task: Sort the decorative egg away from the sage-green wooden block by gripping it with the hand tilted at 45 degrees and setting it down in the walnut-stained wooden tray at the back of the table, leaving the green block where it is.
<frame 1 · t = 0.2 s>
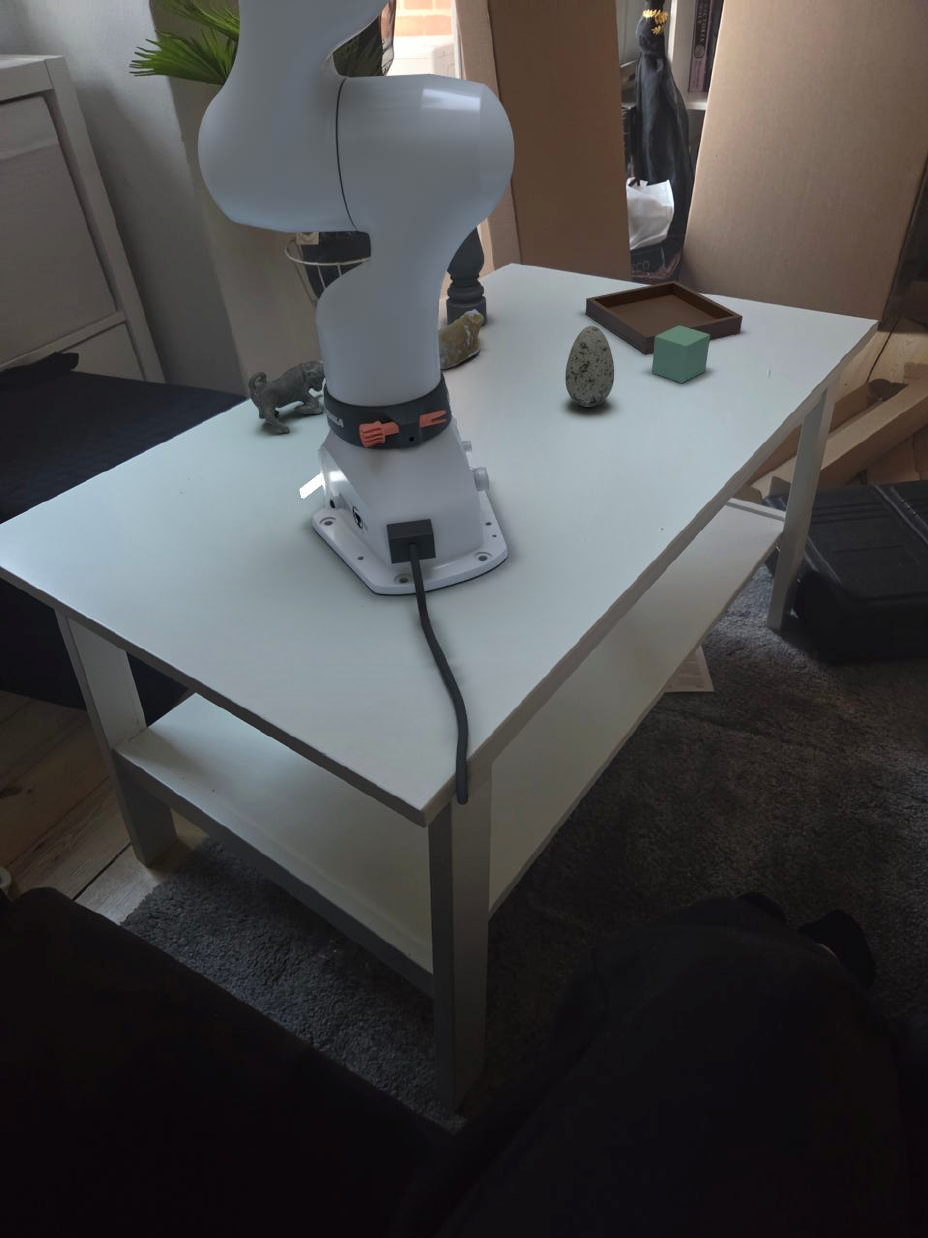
tray: (660, 322, 125), on the table
green block: (678, 372, 112), on the table
dog figurine: (298, 416, 109), on the table
stone: (450, 357, 120), on the table
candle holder: (467, 323, 130), on the table
decorative egg: (588, 406, 106), on the table
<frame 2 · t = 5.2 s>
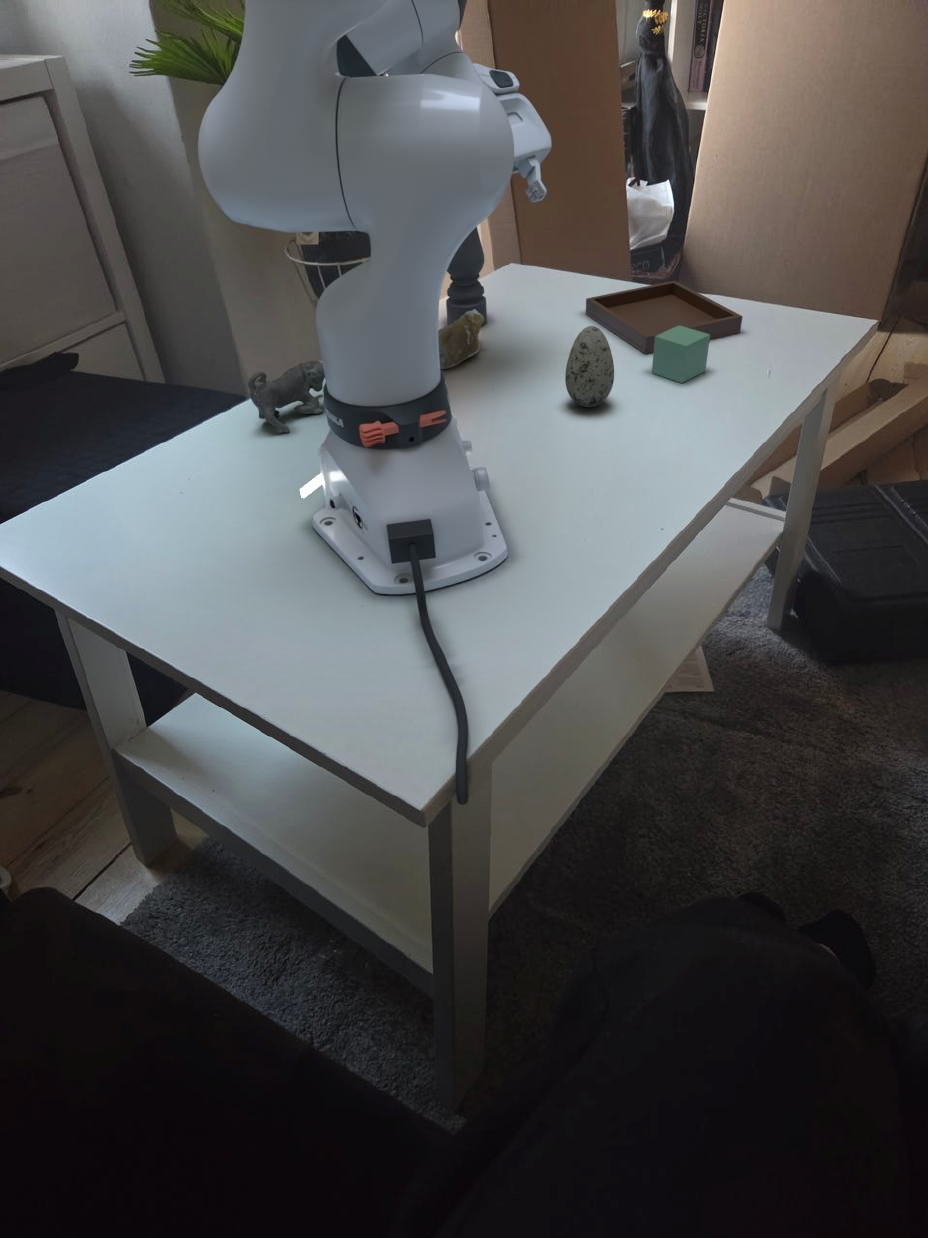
hand: (513, 207, 99), 21 cm above the table, tool tilted 45°, fingers open, 8 cm apart
nothing on the table moved.
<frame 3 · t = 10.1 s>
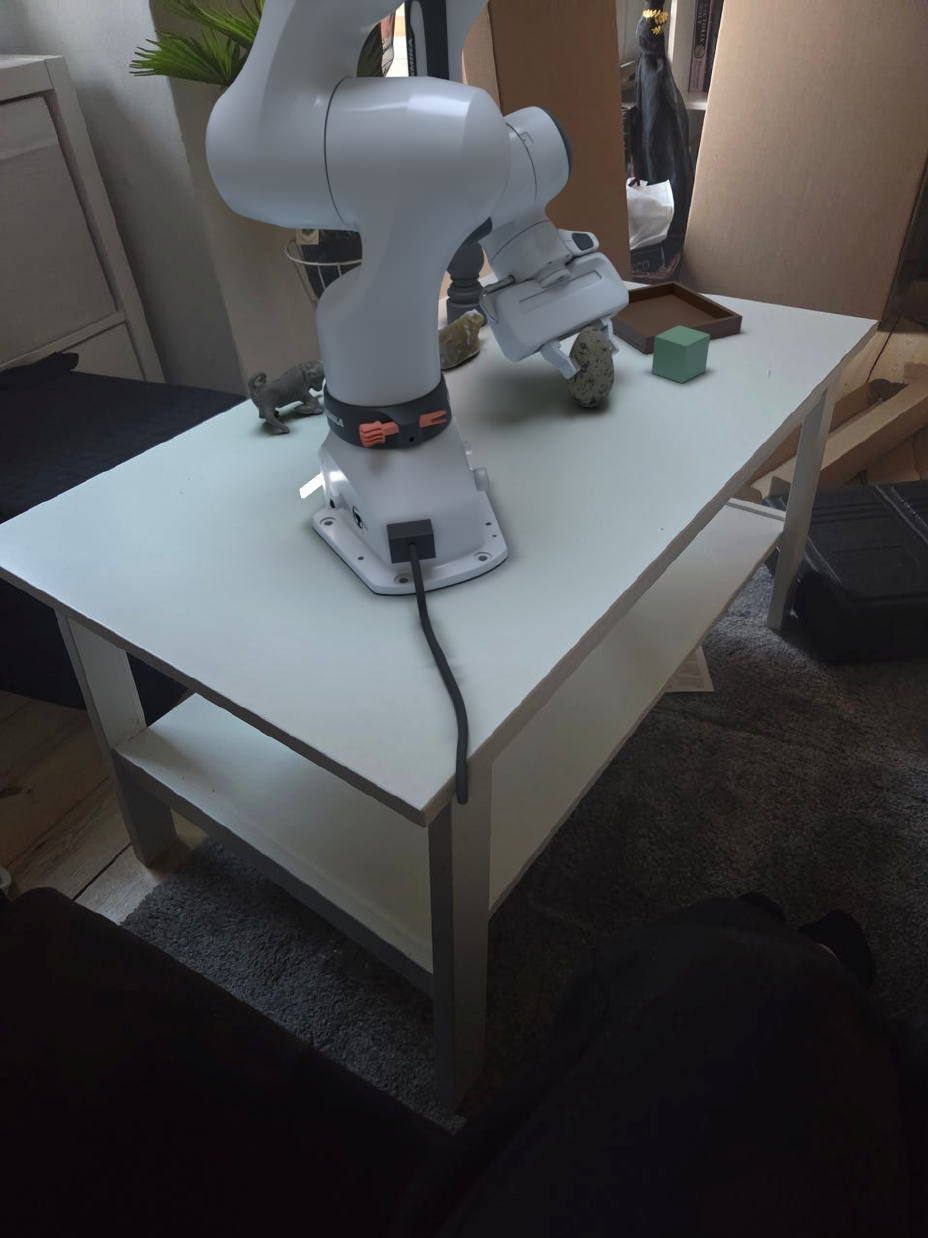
hand: (594, 365, 102), 5 cm above the table, tool tilted 45°, fingers closed on decorative egg, 6 cm apart
decorative egg: (588, 406, 106), on the table, touching gripper
everything else where it was.
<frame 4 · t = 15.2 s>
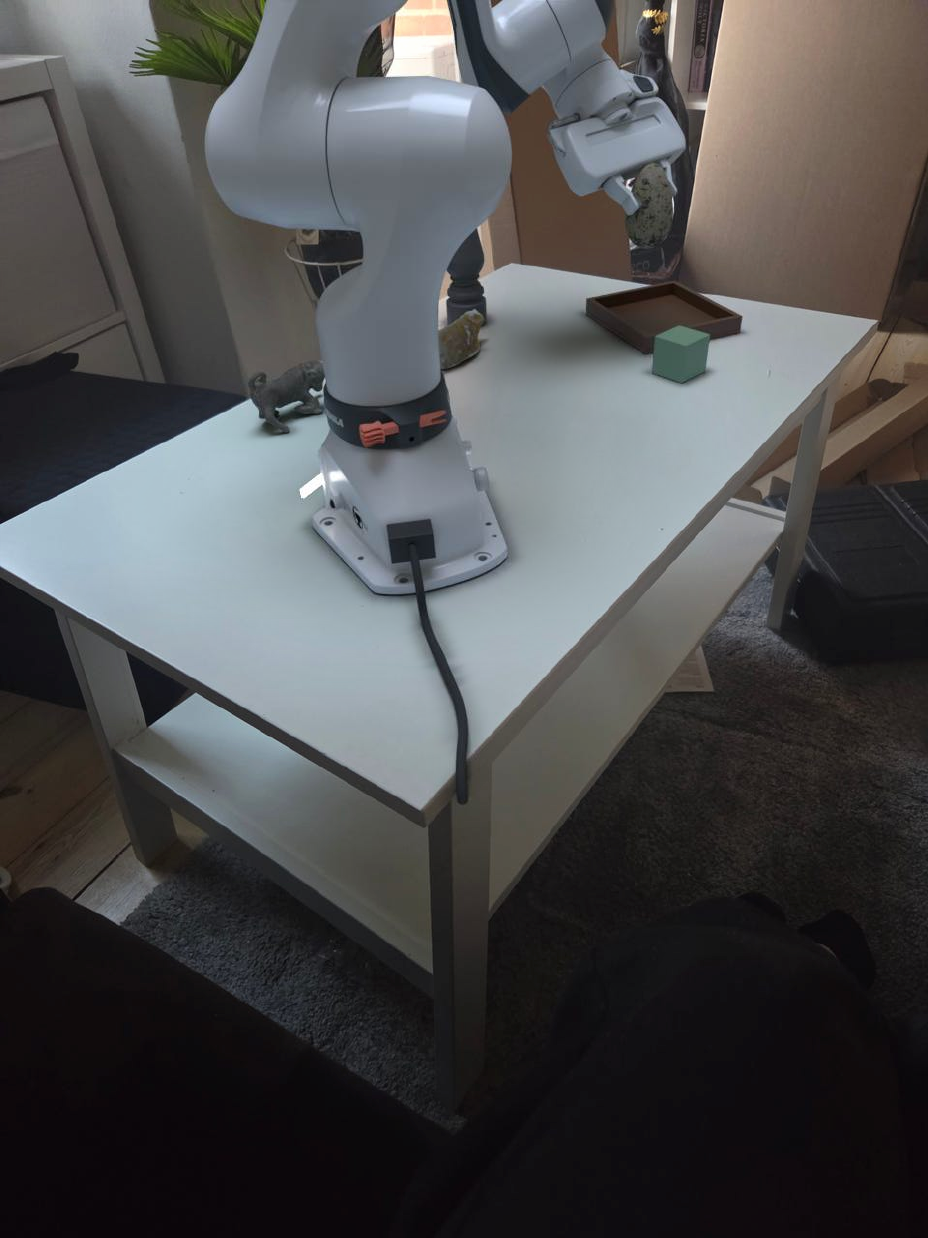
hand: (654, 204, 107), 19 cm above the table, tool tilted 45°, fingers closed on decorative egg, 6 cm apart
decorative egg: (646, 249, 110), point 13 cm above the table, touching gripper
everything else where it was.
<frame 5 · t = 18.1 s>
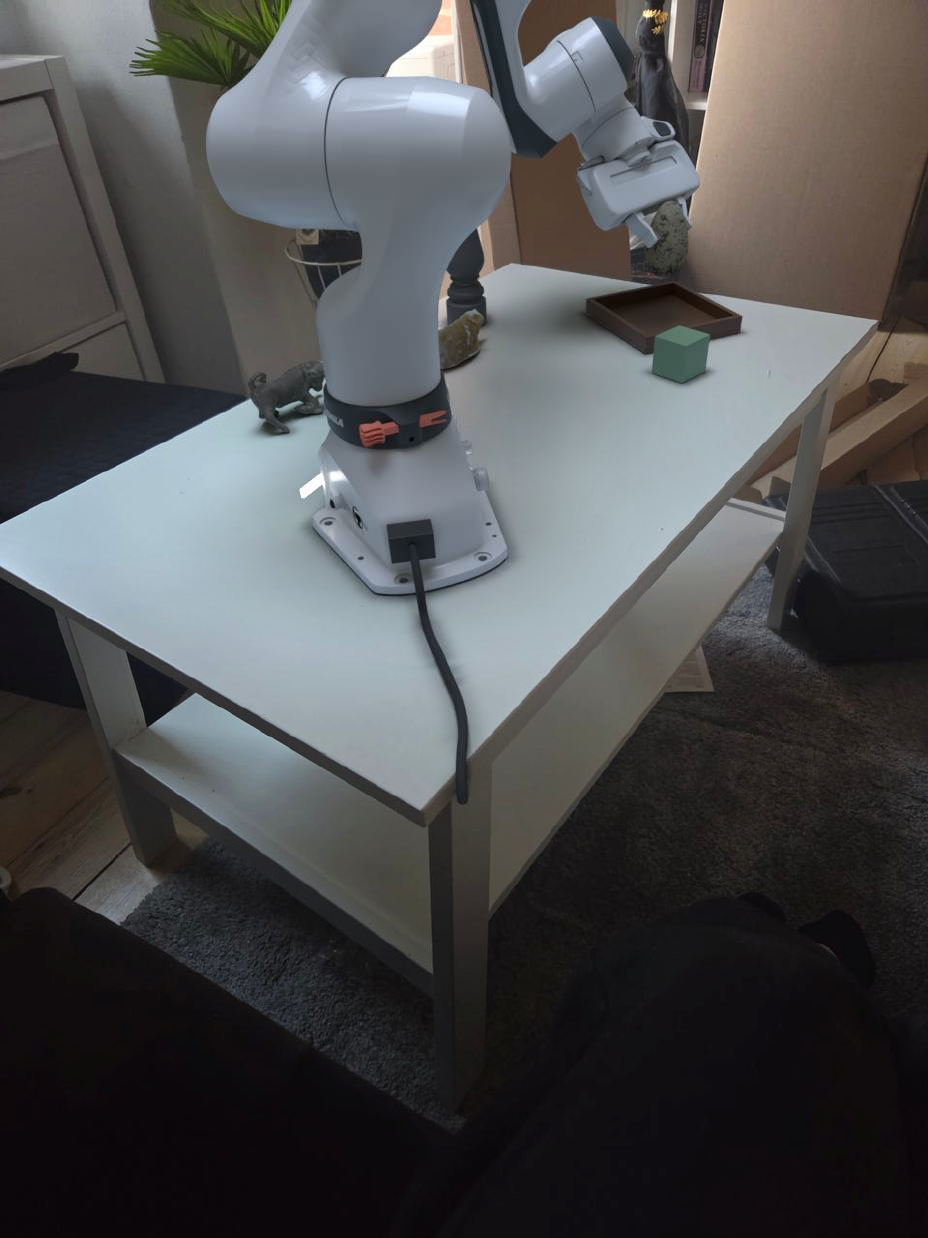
hand: (671, 237, 117), 12 cm above the table, tool tilted 45°, fingers closed on decorative egg, 6 cm apart
decorative egg: (663, 277, 121), point 7 cm above the table, touching gripper
everything else where it was.
when the fingers open (6 cm above the table, at t = 20.3 s): decorative egg stays where it is, resting on tray.
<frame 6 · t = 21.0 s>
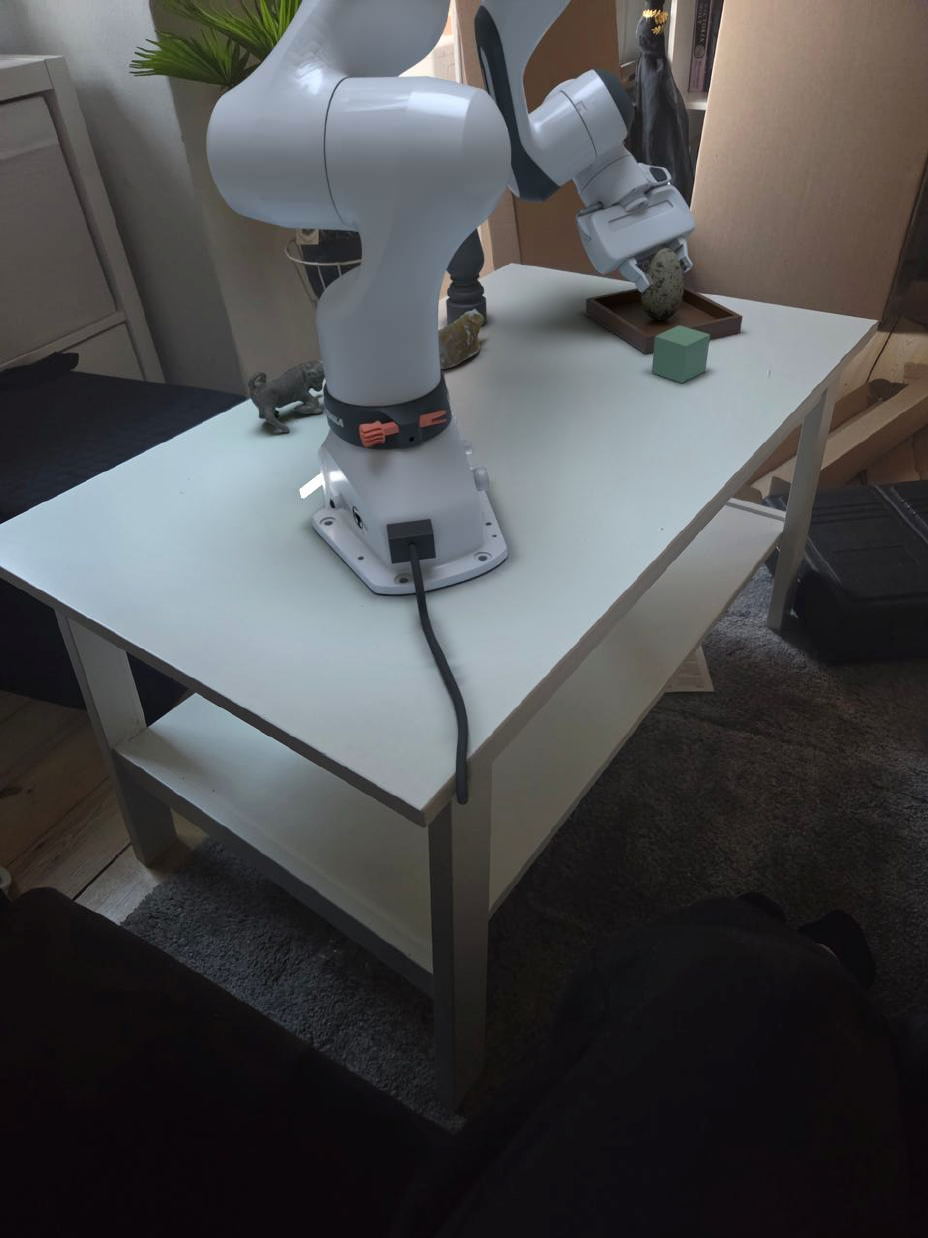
hand: (667, 279, 121), 6 cm above the table, tool tilted 45°, fingers open, 8 cm apart
decorative egg: (659, 320, 125), resting on tray
everything else where it was.
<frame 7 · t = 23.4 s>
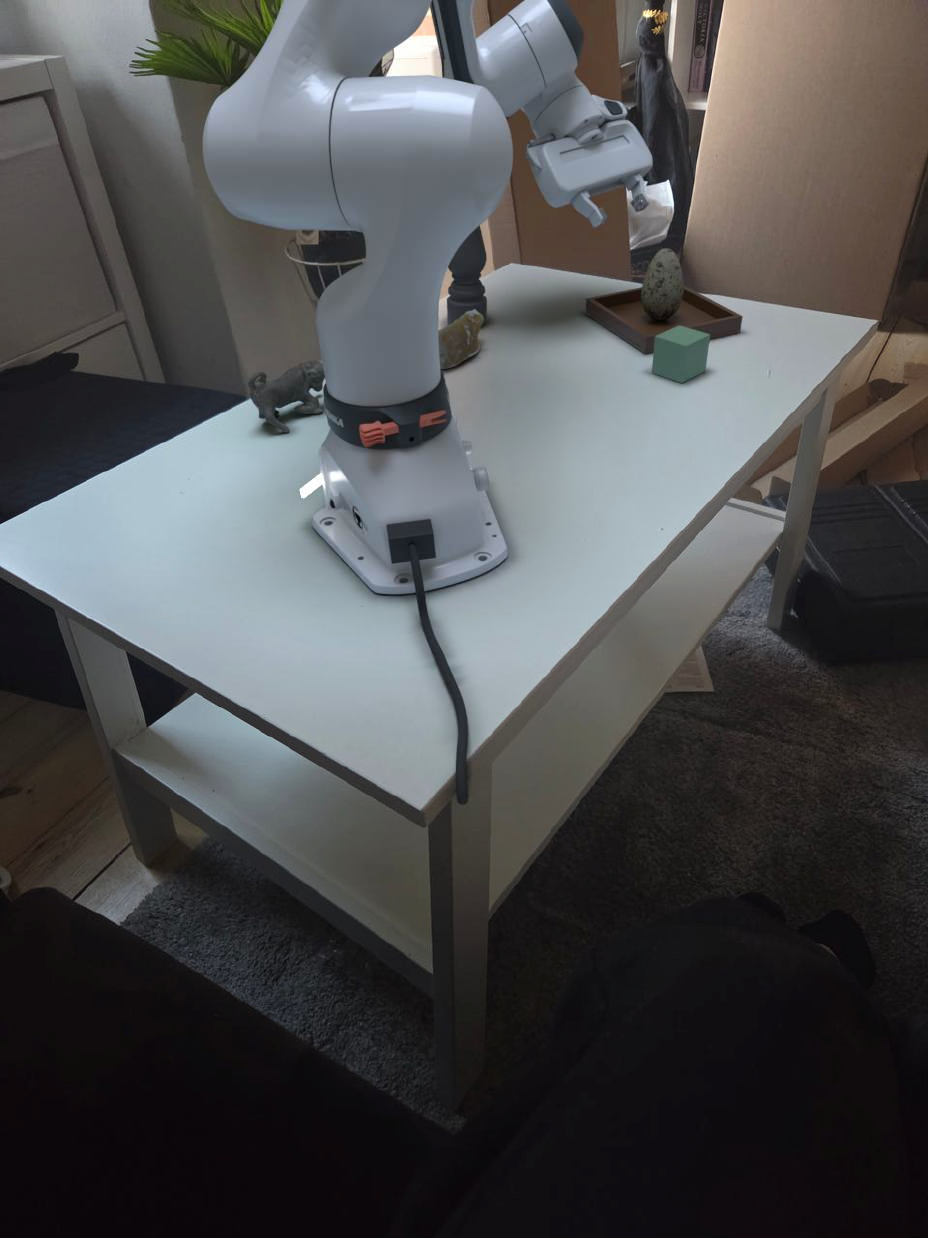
hand: (623, 215, 117), 15 cm above the table, tool tilted 45°, fingers open, 8 cm apart
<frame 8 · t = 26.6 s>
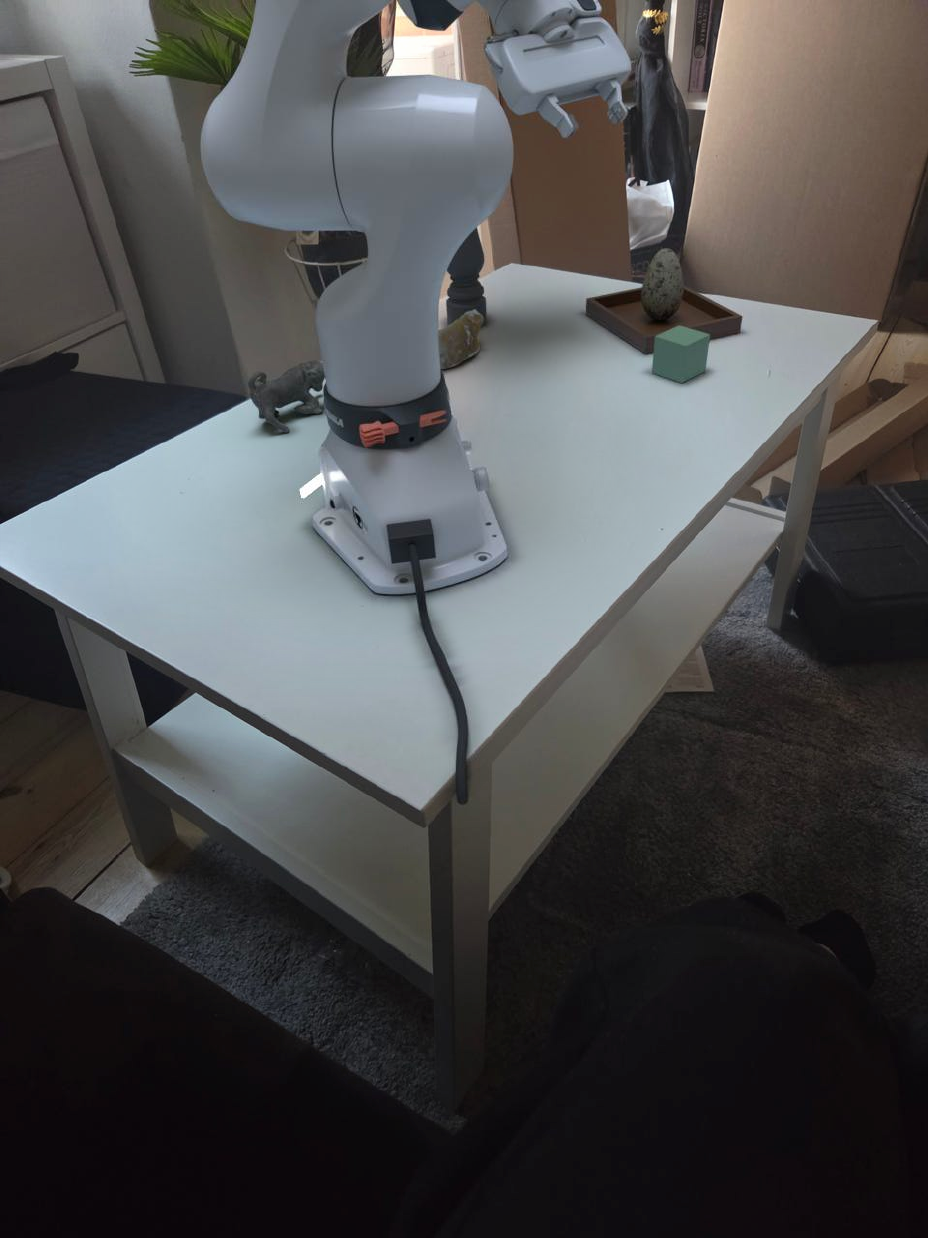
hand: (597, 126, 103), 27 cm above the table, tool tilted 45°, fingers open, 8 cm apart
at the end: decorative egg inside the target area in the tray (0.1 cm from its centre), point 0.4 cm above the tray's base; decorative egg tilted 0°; green block moved 0.0 cm from its start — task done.
